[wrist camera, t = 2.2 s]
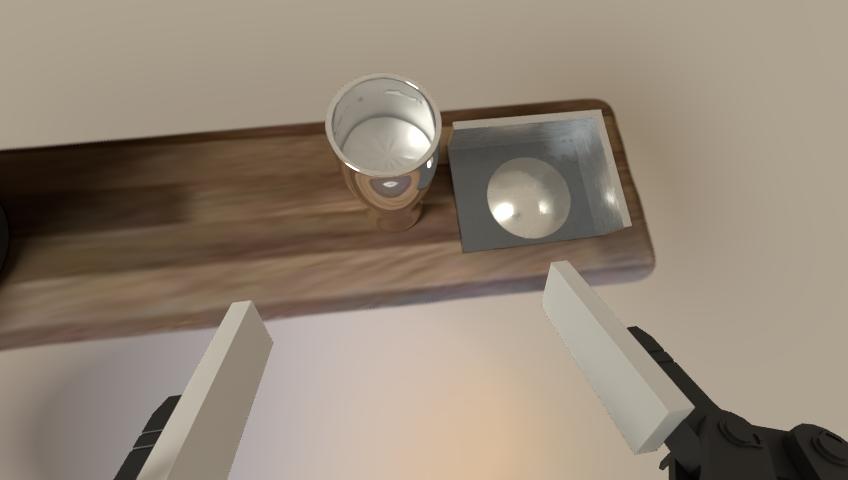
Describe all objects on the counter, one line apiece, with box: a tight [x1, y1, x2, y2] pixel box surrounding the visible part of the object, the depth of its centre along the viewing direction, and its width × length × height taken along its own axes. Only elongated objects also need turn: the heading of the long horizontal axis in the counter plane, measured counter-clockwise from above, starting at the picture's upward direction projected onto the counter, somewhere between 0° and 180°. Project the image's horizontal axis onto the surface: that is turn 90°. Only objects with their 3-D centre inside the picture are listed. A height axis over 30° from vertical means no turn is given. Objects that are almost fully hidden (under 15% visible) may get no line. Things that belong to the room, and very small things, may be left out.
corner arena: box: [446, 109, 632, 253], centre depth 30 cm, size 15×12×5 cm
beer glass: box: [325, 72, 442, 232], centre depth 24 cm, size 7×7×15 cm
